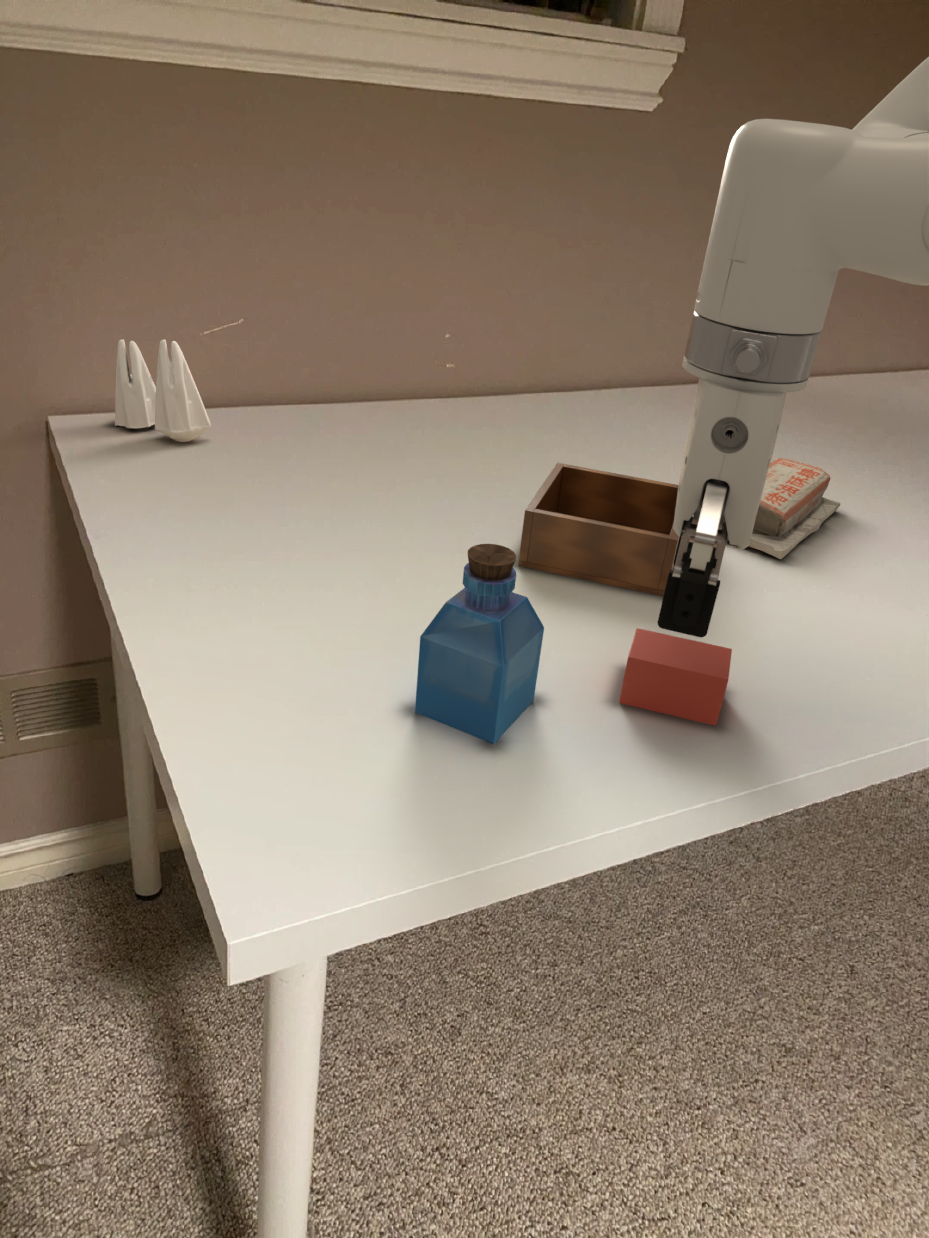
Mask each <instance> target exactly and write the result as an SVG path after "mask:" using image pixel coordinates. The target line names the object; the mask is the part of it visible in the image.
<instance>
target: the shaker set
mask: <svg viewBox="0 0 929 1238" xmlns="http://www.w3.org/2000/svg"><path fill="white" fill-rule="evenodd" d="M125 341H126V340H125V339H123V338H122V339H119V340H118V343H117V347H116V348H117V349H116V364H115V384H114V385H115V386H114V387H115V388H114V389H115V390H114V426H115V427H116V426H120V427H125V428H126V429H143V428H144V429H145V428H149V427H152V426H153V425H154V430H155V431H157V432H159V433H161V434H163V435H164V436H166V437H168V438H169V439H171V440H173V441H174V442H175V441H176V442H178V443H187V442H190V441H193V440H196V439H197V438H199V437H200V436H202V435H204V433H205V432H206V431H208V430H210V428H211V427H212V423H211V421H210V417H209V414H208V413H207V410H206V408H205V404H204V402H203V400H202V397H201V395H200V392H199V390H198V387H197V384H196V382H195V379H194V377H193V375H192V372H191V370H190V367H189V365H188V363H187V359H186V358H185V355H184V353H183V350H182V349H181V347H180V345H179V344H178V342H177V341H175V340H172V341H171V344H170V352H171V353H170V355H171V359H170V356H169V350H168V345H167V340H166V339H161V340H159V345H158V346H159V347H158V352H157V366H156V377H155V378H156V381H155V382H154V379H153V378H152V375H151V373H150V371H149V368H148V366H147V363H146V361H145V358H144V357H143V354H142V352H141V350H140V347H139V346H138V344H137V343H136V342H135V341H134V340H130V341H129V346H128V348H129V349H128V350H129V359H128V354H127V347H126V343H125ZM129 361H130V365H129ZM130 369H131V371H130Z"/></svg>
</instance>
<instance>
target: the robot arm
mask: <svg viewBox="0 0 929 1238" xmlns="http://www.w3.org/2000/svg"><path fill="white" fill-rule="evenodd" d="M842 269H850V270H854V271H858V272H859V271H860V272H863V273H867V274H870V275H871V274H872V275H874V276H875V275H876V276H878V277H879V276H880V277H883V278H887V279H890V280H894V281H896V282H897V281H898V282H901V283H905V284H910V285H914V286H925V287H926V286H927V287H928V286H929V56H928V57H926V58H925V59H924V60H923V61H922V62H921V63H919V64H918V65H917V66H916V67H915V68H914V69H913V70H912V71H911V72H910V73H909V74H908V75H907V76H906V77H905V78H904V79H902V80H901V81H900V82H899V83H898V84H897V85H896V86H895V87H894V88H893V89H892V90H891V91H890V92H889V93H888V94H887V95H886V96H885V97H884V98H882V100H881V101H880V102H879V103H878V104H876V105H875V107H873V109H871V110H870V111H869V112H868V113H867V114H866V115H865V116H864V117H863V118H862V119H861V120H860V121H859V122H858V123H857V124H856V125H855V126H854V127H853V128H852V129H850V128H847V127H843V126H837V125H831V124H824V123H816V122H807V121H798V120H791V119H779V118H756V119H753V120H749V121H746V123H744V124H743V125H741V126H740V127H739V128H738V129H737V130H736V132H735V133H734V135H733V136H732V138H731V140H730V143H729V146H728V150H727V154H726V158H725V162H724V167H723V171H722V176H721V181H720V184H719V190H718V195H717V200H716V204H715V209H714V214H713V219H712V223H711V228H710V232H709V237H708V242H707V247H706V251H705V256H704V261H703V264H702V269H701V276H700V279H699V283H698V289H697V293H696V298H695V302H694V307H693V311H692V316H691V321H690V326H689V331H688V335H687V340H686V344H685V349H684V354H683V359H682V362H681V366H682V369H684V370H685V371H686V372H687V373H689V374H690V375H692V376H694V377H697V378H698V383H697V387H696V393H695V396H694V401H693V406H692V411H691V416H690V420H689V425H688V429H687V434H686V439H685V444H684V450H683V456H682V460H681V466H680V473H679V478H678V479H679V480H678V484H677V485H678V493H677V500H676V508H675V516H674V525H673V530H674V531H675V533H676V534H677V535H678V536H679V541H678V545H677V550H676V554H675V558H674V567H673V570H670V571H669V575H668V579H667V583H666V588H665V592H664V596H662V602H661V606H660V610H659V615H658V618H657V626H658V627H659V628H660V629H662V630H666V631H669V632H670V631H671V632H674V633H680V634H684V635H687V636H692V637H695V638H705V637H706V636H707V634H708V631H709V627H710V624H711V621H712V617H713V613H714V609H715V605H716V601H717V598H718V593H719V590H720V586H721V580H719V575H720V571H721V567H722V562H723V558H724V554H725V550H726V546H727V544H728V543H729V545H731V546H736V547H737V550H740V551H742V550H744V549H746V548H748V546H749V544H750V540H751V536H752V532H753V528H754V524H755V520H756V516H757V512H758V508H759V504H760V500H761V496H762V492H763V489H764V485H765V481H766V477H767V474H768V470H769V466H770V463H772V458H773V455H774V451H775V447H776V442H777V439H778V434H779V430H780V427H781V421H782V417H783V412H784V406H785V401H786V394H787V393H796V392H800V391H802V390H804V389H806V388H807V385H808V382H809V378H810V375H811V371H812V368H813V364H814V360H815V357H816V354H817V350H818V346H819V342H820V339H821V335H822V331H823V328H824V325H825V321H826V318H827V314H828V311H829V307H830V304H831V300H832V297H833V293H834V289H835V286H836V282H837V278H838V275H839V271H840V270H842ZM727 537H728V538H729V540H728V538H727Z"/></svg>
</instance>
